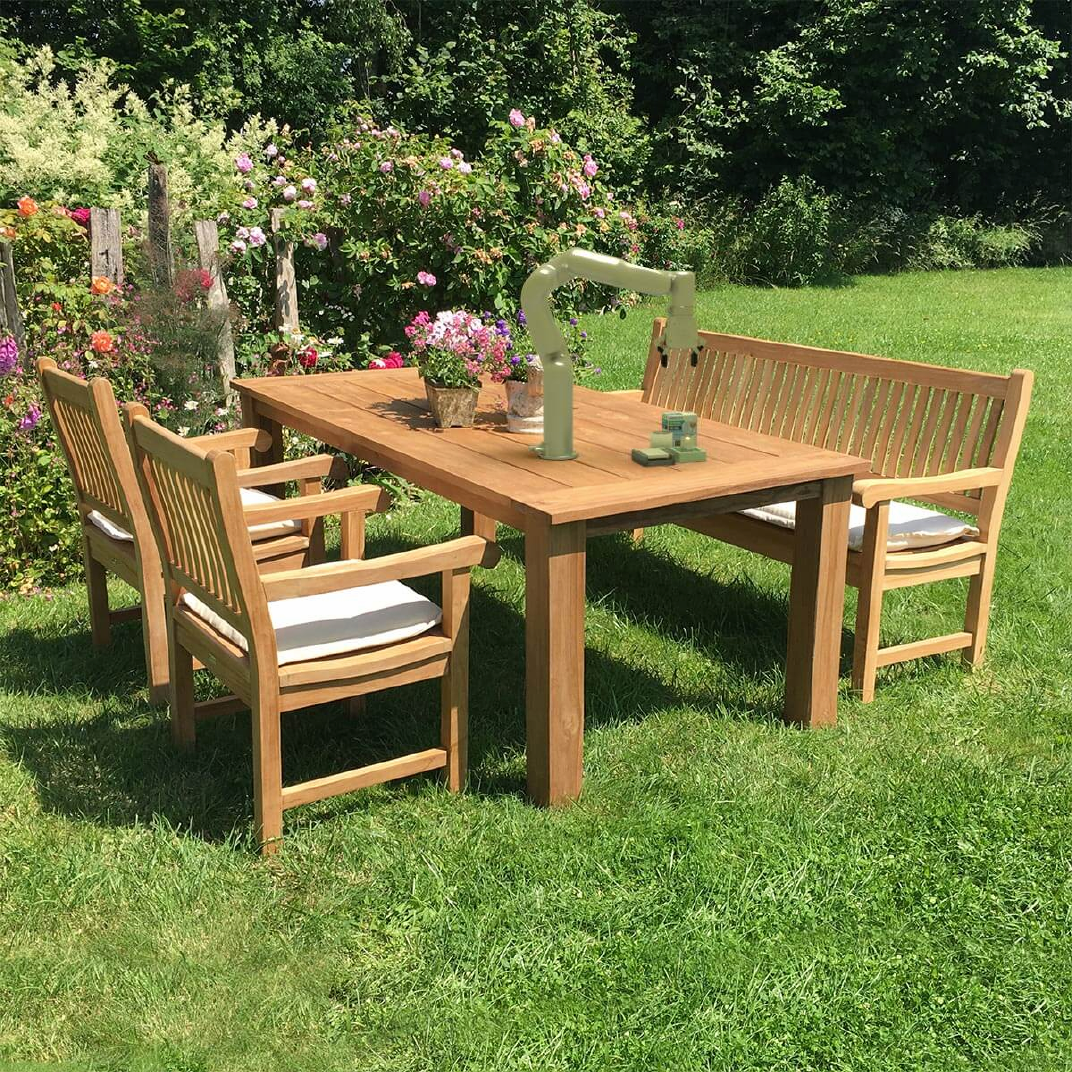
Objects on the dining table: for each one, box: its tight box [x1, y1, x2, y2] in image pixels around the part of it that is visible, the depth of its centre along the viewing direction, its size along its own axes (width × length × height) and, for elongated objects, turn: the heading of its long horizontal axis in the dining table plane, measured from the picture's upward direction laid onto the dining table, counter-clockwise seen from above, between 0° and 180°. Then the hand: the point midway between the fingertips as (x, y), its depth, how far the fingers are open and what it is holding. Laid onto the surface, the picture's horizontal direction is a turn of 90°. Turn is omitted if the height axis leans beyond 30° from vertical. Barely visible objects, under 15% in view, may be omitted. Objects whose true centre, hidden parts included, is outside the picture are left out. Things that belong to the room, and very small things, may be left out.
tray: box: [669, 445, 707, 464], centre depth 380 cm, size 9×9×3 cm
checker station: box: [630, 447, 676, 468], centre depth 376 cm, size 10×12×3 cm
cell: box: [680, 435, 695, 453], centre depth 379 cm, size 4×4×7 cm
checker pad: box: [637, 448, 669, 459], centre depth 376 cm, size 7×10×1 cm
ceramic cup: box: [649, 430, 673, 451], centre depth 388 cm, size 7×7×7 cm
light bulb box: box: [661, 411, 699, 448], centre depth 401 cm, size 11×7×11 cm, turn 105°
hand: (678, 366), depth 376 cm, fingers open, 9 cm apart
